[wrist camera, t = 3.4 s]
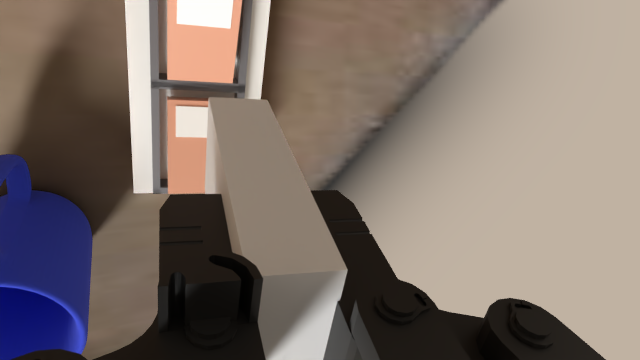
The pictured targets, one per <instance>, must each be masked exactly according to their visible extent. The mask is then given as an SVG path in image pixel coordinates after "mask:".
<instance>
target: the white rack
mask: <svg viewBox="0 0 640 360" xmlns="http://www.w3.org/2000/svg"><path fill="white" fill-rule="evenodd" d="M270 2H271V0H242V6H241V15H240V24H239V32H238V41H237V50H236V58H235V67H234V76H233V83H217V82H199V81H182V80H167V0H125V13H126V35H127V56H128V78H129V100H130V122H131V144H132V165H133V187H134V193H153V194H163V193H168V152H167V96H175V97H196V98H209V97H219V98H240V99H261V90H262V81H263V71H264V61H265V51H266V41H267V32H268V22H269V12H270Z"/></svg>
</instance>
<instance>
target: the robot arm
mask: <svg viewBox="0 0 640 360" xmlns="http://www.w3.org/2000/svg"><path fill="white" fill-rule="evenodd" d="M369 232H370V231H369V229H368V227H367V226H366V224H365V222H364V221H362V217H361V215H360V214H359V212H358V210H357V209H356V207H355V205H354V203H352V202H351V201H350V200H349V199H347V198H346V197H345V196H343V195H342V194H341V193H340V192H339V191H337V190H321V191H310V189H309V187H308V185H307V183H306V181H305V178H304V176H303V174H302V172H301V170H300V168H299V166H298V164H297V162H296V159H295V157H294V155H293V153H292V151H291V149H290V147H289V145H288V142H287V140H286V138H285V136H284V134H283V132H282V130H281V128H280V126H279V123H278V121H277V119H276V117H275V115H274V113H273V111H272V109H271V106H270V104H269V102H268V100H262V99H240V98H219V97H209V101H208V124H207V147H206V170H205V194H178V195H170V196H169V198H168V199H167V200H166V202H165V203H164V204H163V206H162V207H161V209H160V231H159V284H158V314H157V316H156V318H155V320H154V322H153V323H152V325H151V326H150V327H149V328H148V330H147V331H146V332H145V333H144V334H143V335H142V336H140V337H139V338H138V339H136V340H135V341H134V342H132V343H131V344H129V345H127V346H125V347H123V348H121V349H119V350H117V351H114V352H112V353H109V354H106V355H104V356H101V357H98V358H96V359H93V360H605V359H604V358H603V357H602V356H601V355H600V354H598V353H597V352H596V351H595V350H594V349H592V348H591V347H590V346H589V345H587V343H585V342H584V341H583V340H582V339H581V338H579V337H578V336H577V335H576V334H575V333H573V332H572V331H571V330H570V329H569V328H568V327H566V326H565V325H564V324H563V323H562V322H560V321H559V320H558V319H557V318H556V317H554V316H553V315H551V314H550V313H549V312H547V311H546V310H544V309H543V308H541V307H539V306H537V305H534V304H532V303H530V302H527V301H525V300H519V299H513V298H507V299H500V300H497V301H496V302H494V303H493V304H492V305H490V307H489V308H488V311H487V313H486V315H485V317H484V318H481V317H475V316H469V315H463V314H457V313H451V312H446V311H443V310H439V309H438V308H437V306H436V305H435V303H434V302H433V301H432V300H431V299H430V298H429V297H428V296H427V294H426V293H425V292H423V291H422V290H420V289H419V288H417V287H416V286H414V285H412V284H410V283H407V282H404V281H401V280H398V279H397V277H396V275H395V273H394V272H393V270H392V268H391V267H390V265H389V263H388V261H387V260H386V258H385V256H384V255H383V253H382V251H381V250H380V248H379V246H378V244H377V243H376V241H375V239H374V238H373V236H372V234H370V233H369ZM11 360H87V359H86V358H84V357H83V356H82V355H81V354H79V353H75V352H71V351H67V350H63V349H49V350H37V351H33V352H30V353H27V354H25V355H22V356H19V357H16V358H13V359H11Z"/></svg>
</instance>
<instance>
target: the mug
mask: <svg viewBox="0 0 640 360" xmlns="http://www.w3.org/2000/svg"><path fill="white" fill-rule="evenodd" d="M5 178H6V184H7V191H8V194H6V195H4V196H1V197H0V360H11V359H13V358H16V357H19V356H22V355H25V354H27V353H30V352H33V351H37V350H49V349H63V350H67V351H71V352H75V353H79V354H81V353H82V352H83V350H84V348H85V345H86V341H87V334H88V315H89V296H90V277H91V258H92V232H91V227H90V224H89V222H88V220H87V218H86V216H85V215H84V213H83V212H82V211H81V210H80V209H79V208H78V207H77V206H76V205H75V204H74V203H72V202H71V201H69V200H68V199H66V198H64V197H62V196H60V195H57V194H54V193H50V192H45V191H36V190H32V188H31V178H30V173H29V168H28V165H27V163H26V161H25V160H24V159H23V158H22V157H20V156H18V155H11V154H6V155H0V186H1V185H2V183H3V181H4V180H5Z"/></svg>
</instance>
